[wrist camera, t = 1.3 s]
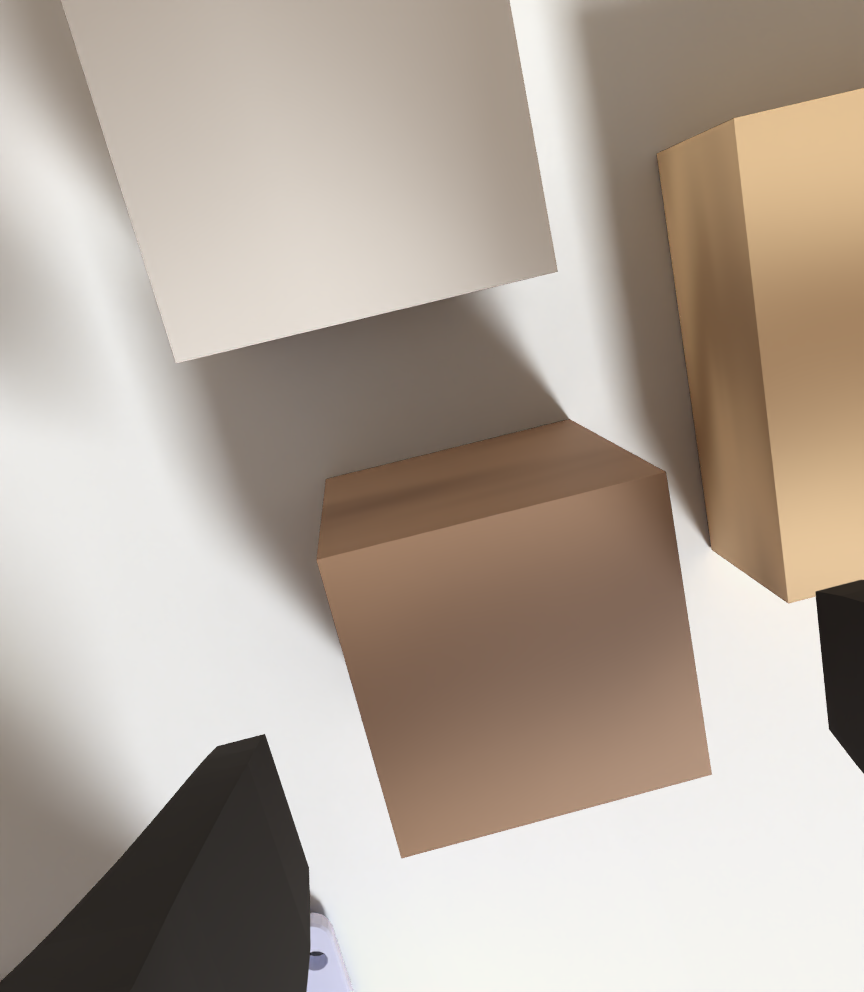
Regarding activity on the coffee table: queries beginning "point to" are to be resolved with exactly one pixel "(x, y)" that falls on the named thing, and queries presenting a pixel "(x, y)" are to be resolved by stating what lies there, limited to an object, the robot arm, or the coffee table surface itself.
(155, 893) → the robot arm
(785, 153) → the oak base
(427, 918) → the coffee table surface
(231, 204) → the grey cube
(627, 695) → the walnut cube
